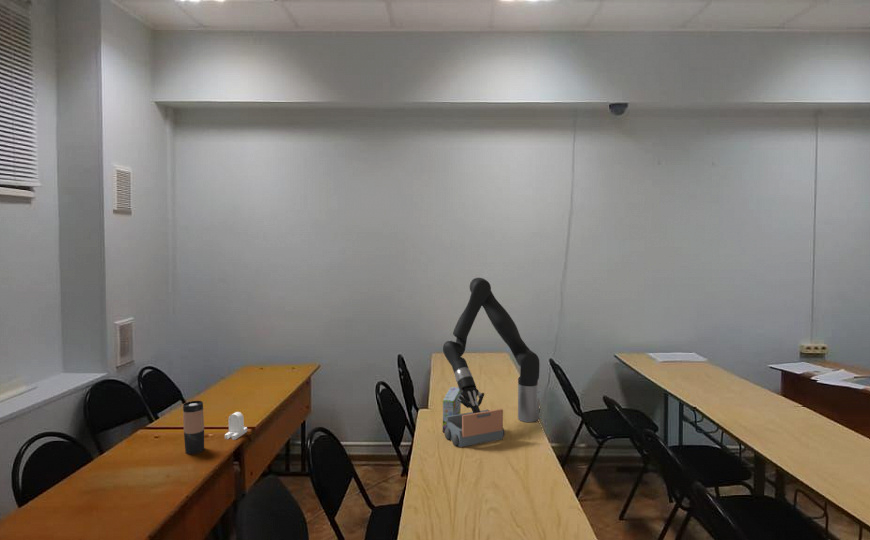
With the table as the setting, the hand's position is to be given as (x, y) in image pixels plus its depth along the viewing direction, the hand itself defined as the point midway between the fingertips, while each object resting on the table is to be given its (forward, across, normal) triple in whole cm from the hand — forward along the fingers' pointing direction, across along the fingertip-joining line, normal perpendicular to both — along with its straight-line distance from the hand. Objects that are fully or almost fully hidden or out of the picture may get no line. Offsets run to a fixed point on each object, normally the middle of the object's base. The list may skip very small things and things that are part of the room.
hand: (477, 415), depth 222 cm
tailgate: (+8, 0, +2) cm, 8 cm away
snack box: (-7, -2, +23) cm, 25 cm away
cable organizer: (-28, -96, +44) cm, 109 cm away
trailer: (+6, 0, +10) cm, 12 cm away
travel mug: (-20, -112, +36) cm, 119 cm away
